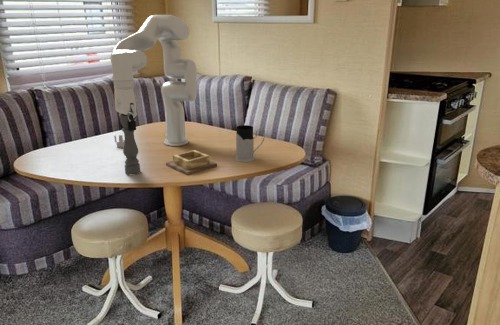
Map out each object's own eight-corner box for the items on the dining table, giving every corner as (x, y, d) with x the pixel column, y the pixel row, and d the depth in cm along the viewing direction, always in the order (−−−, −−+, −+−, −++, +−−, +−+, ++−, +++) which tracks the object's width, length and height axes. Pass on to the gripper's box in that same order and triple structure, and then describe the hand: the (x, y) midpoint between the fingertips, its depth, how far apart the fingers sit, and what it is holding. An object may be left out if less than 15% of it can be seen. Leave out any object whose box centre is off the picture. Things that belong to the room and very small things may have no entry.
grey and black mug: (233, 157, 194) (232, 125, 189) (261, 153, 199) (261, 123, 194) (239, 163, 186) (238, 130, 181) (268, 159, 191) (268, 127, 186)
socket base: (166, 165, 184) (165, 155, 182) (196, 157, 194) (195, 147, 192) (186, 174, 173) (186, 164, 171) (217, 166, 183) (216, 155, 181)
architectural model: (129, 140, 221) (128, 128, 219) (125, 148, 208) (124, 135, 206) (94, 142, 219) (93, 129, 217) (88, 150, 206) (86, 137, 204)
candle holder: (126, 169, 178) (120, 112, 170) (141, 169, 179) (136, 112, 170) (124, 175, 173) (117, 116, 164) (139, 174, 173) (133, 115, 165)
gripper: (105, 82, 167) (110, 126, 173) (125, 88, 155) (129, 134, 161) (122, 81, 172) (127, 123, 178) (143, 86, 160) (147, 131, 166)
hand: (128, 128), depth 169 cm, fingers open, 5 cm apart
